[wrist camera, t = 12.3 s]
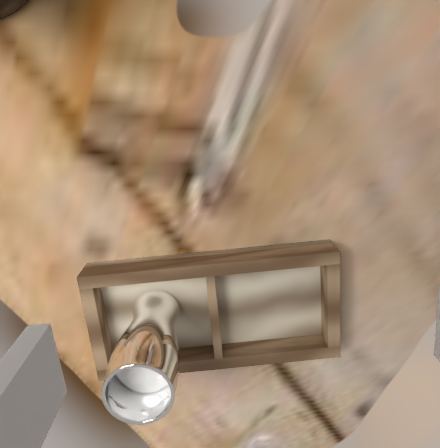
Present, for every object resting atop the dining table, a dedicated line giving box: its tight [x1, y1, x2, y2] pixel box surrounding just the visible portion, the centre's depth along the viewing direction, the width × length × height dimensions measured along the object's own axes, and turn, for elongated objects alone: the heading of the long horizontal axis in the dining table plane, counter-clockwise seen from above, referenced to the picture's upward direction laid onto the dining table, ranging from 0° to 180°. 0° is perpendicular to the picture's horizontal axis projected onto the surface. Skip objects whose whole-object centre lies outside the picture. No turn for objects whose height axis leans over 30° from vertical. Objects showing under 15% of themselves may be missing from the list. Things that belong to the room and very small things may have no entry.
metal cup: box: [102, 290, 181, 425], centre depth 43 cm, size 7×7×15 cm
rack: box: [77, 240, 340, 381], centre depth 50 cm, size 14×30×4 cm, turn 95°
